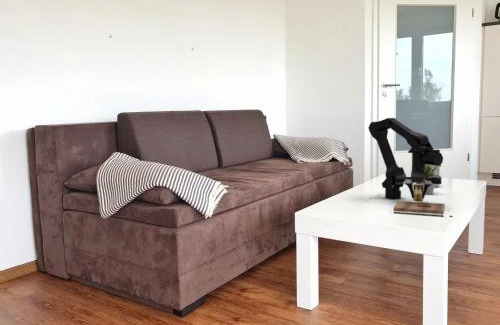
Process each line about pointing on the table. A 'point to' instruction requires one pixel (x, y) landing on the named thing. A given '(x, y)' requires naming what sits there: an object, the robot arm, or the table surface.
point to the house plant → (428, 168)
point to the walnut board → (419, 208)
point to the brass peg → (418, 192)
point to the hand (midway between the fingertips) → (418, 198)
